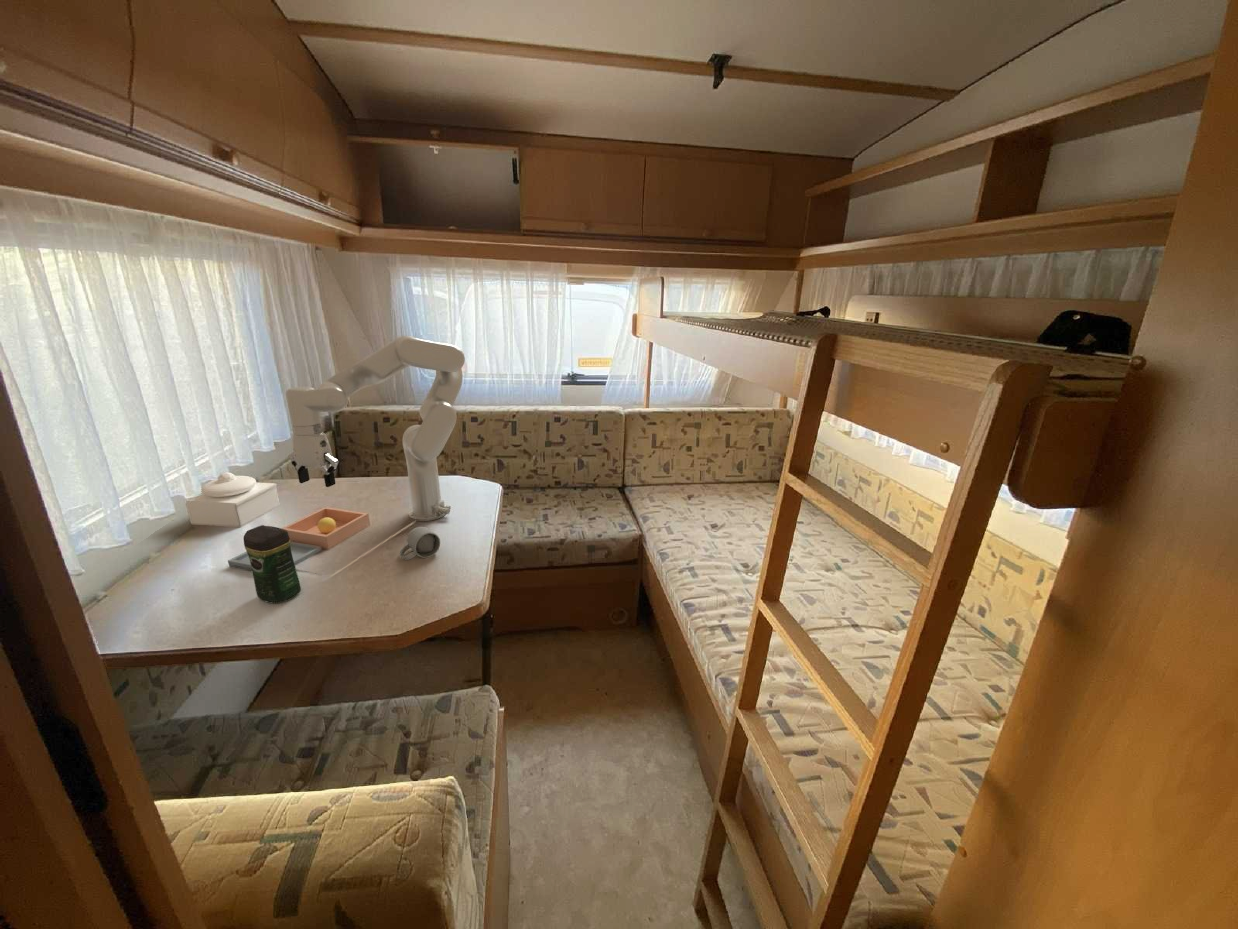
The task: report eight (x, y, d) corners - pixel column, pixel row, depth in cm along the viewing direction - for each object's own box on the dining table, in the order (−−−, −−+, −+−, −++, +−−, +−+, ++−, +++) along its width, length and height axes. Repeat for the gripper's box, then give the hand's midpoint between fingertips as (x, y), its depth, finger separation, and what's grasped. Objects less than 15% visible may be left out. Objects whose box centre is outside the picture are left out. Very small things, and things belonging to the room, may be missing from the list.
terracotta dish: (370, 527, 164) (368, 513, 163) (329, 551, 149) (326, 536, 147) (327, 520, 169) (325, 507, 167) (283, 543, 153) (280, 529, 152)
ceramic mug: (430, 543, 155) (427, 520, 153) (442, 553, 150) (439, 529, 147) (395, 555, 148) (391, 531, 146) (406, 565, 143) (402, 541, 140)
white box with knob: (234, 503, 181) (224, 461, 176) (281, 506, 180) (272, 464, 174) (191, 525, 165) (178, 479, 159) (242, 528, 163) (230, 482, 158)
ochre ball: (340, 530, 160) (338, 515, 159) (328, 537, 156) (325, 522, 154) (327, 528, 161) (325, 513, 160) (315, 534, 157) (312, 520, 155)
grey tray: (322, 552, 148) (321, 546, 148) (280, 577, 136) (279, 570, 135) (274, 544, 153) (272, 538, 152) (229, 567, 140) (227, 560, 139)
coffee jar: (307, 591, 130) (293, 526, 124) (277, 608, 123) (261, 540, 117) (282, 582, 133) (267, 519, 127) (251, 598, 126) (234, 532, 120)
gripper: (342, 429, 149) (350, 482, 154) (295, 423, 153) (305, 476, 159) (321, 435, 142) (331, 491, 147) (273, 429, 146) (284, 484, 152)
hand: (317, 483), depth 153 cm, fingers open, 9 cm apart
